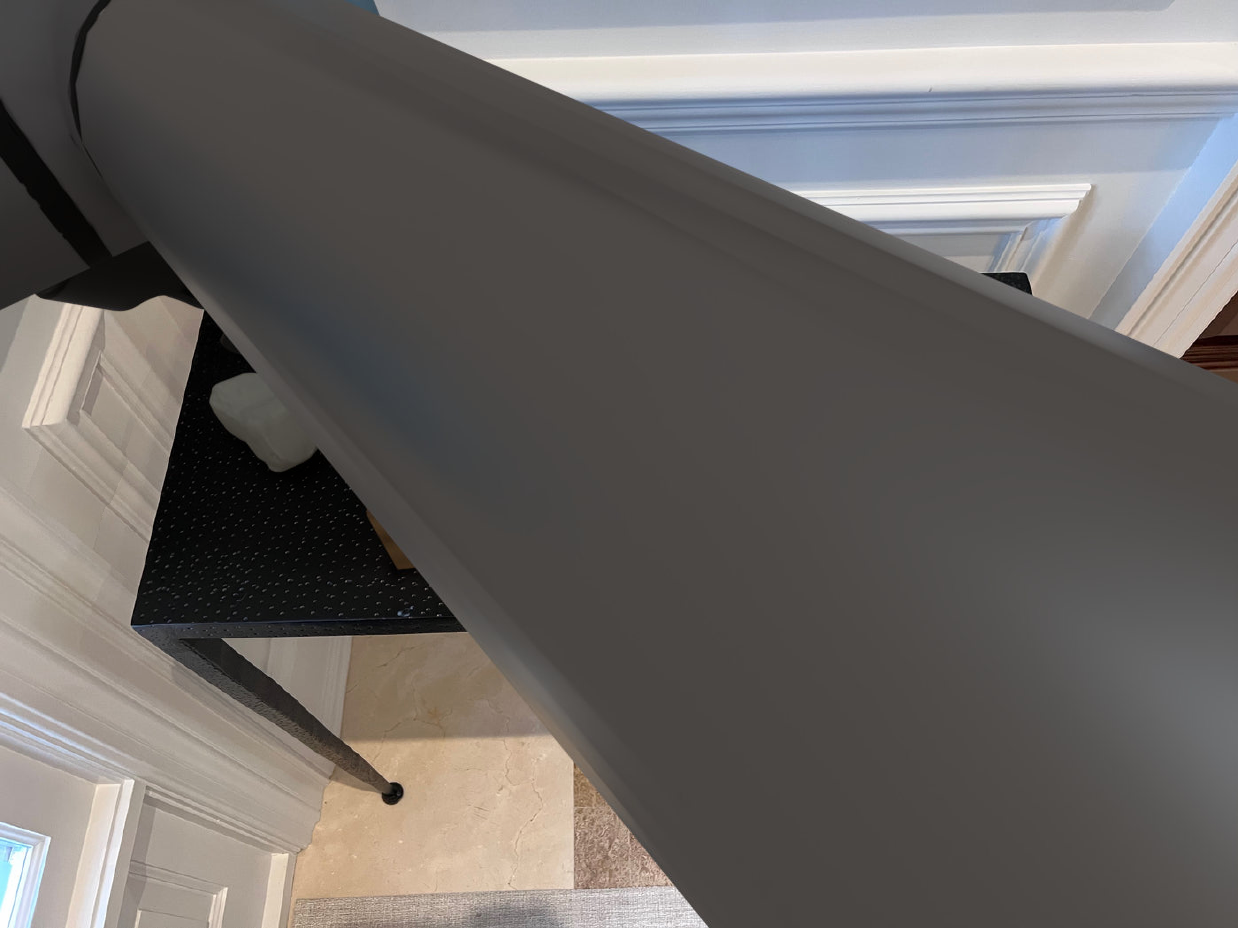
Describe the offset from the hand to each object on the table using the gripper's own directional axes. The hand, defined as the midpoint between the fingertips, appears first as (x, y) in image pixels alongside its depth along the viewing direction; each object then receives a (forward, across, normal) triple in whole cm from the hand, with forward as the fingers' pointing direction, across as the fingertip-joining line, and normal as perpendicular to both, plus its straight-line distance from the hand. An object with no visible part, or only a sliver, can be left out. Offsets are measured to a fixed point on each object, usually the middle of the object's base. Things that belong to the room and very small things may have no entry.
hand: (454, 309), depth 51 cm
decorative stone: (+9, -18, -26) cm, 33 cm away
